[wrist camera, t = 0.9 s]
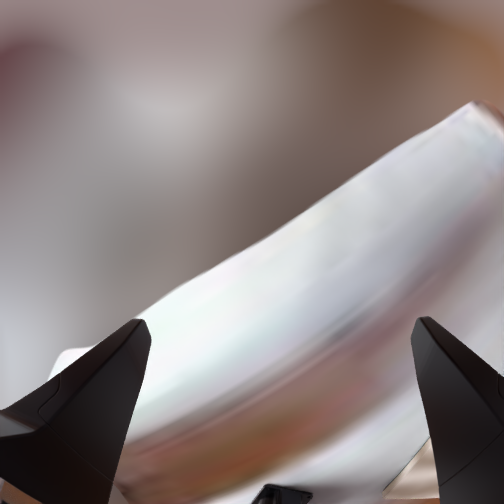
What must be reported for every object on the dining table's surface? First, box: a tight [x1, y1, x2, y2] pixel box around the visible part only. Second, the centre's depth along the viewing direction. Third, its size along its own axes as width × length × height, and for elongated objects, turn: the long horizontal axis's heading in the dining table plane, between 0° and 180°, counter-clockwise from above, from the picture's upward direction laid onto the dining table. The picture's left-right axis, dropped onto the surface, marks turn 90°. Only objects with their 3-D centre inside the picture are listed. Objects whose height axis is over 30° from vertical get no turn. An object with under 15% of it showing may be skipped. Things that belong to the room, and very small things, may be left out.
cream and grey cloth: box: [382, 438, 439, 499], centre depth 25 cm, size 16×22×1 cm
